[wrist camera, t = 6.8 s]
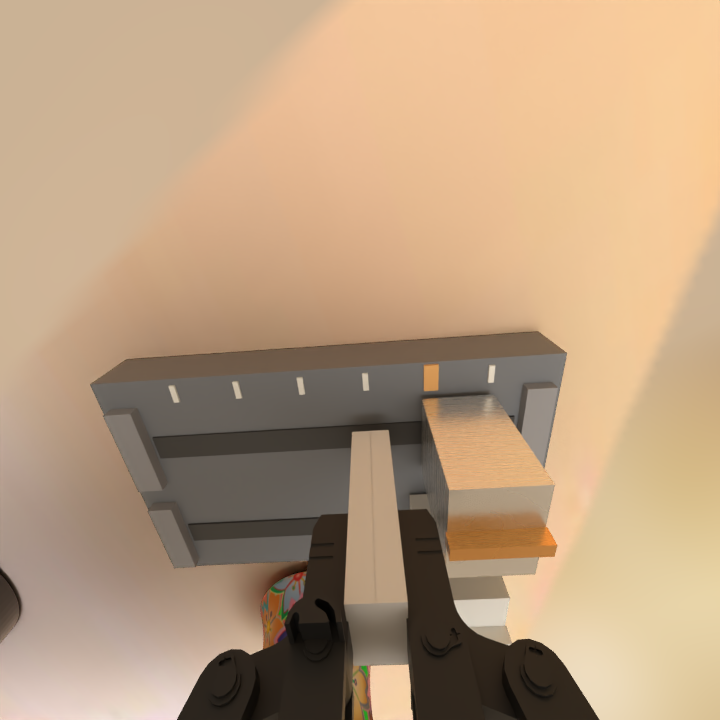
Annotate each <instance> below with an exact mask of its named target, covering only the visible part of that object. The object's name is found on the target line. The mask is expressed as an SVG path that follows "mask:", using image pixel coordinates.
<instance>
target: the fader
mask: <svg viewBox="0 0 720 720" xmlns="http://www.w3.org/2000/svg"><path fill="white" fill-rule="evenodd" d="M422 476H423V480H424V485H425V489H426V494H427V498H428V503H429V507H430V512H431V516H432V517H433V518H434V520H435V521H436V524H437V529H438V533H439V538H440V542H441V546H442V552H443V555H444V560H445V564H446V569H447V573H448V577H449V578H460V577H484V576H507V575H530V574H535V573H536V568H537V564H538V559H539V557H554V556H555V552H556V548H557V544H556V542H555V540H554V539H553V537H552V535H551V533H550V532H549V530H548V528H547V527H546V523H547V518H548V514H549V509H550V505H551V500H552V496H553V491H554V486H555V484H554V483H553V481H552V480H551V478H550V477H549V475H548V474H547V472H546V471H545V469H544V468H543V466H542V465H541V463H540V462H539V460H538V459H537V458H536V456H535V455H534V453H533V452H532V450H531V449H530V447H529V446H528V444H527V443H526V441H525V440H524V438H523V437H522V435H521V434H520V432H519V431H518V429H517V428H516V426H515V425H514V423H513V422H512V421H511V419H510V418H509V416H508V415H507V413H506V412H505V410H504V409H503V407H502V406H501V404H500V403H499V401H498V400H497V398H496V397H495V395H478V396H462V397H445V398H429V399H422Z"/></svg>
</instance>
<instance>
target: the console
mask: <svg viewBox="0 0 720 720" xmlns="http://www.w3.org/2000/svg"><path fill="white" fill-rule="evenodd" d="M566 356H567V353H566V352H565V351H563V350H562V349H561V348H559V347H558V346H557V345H556V344H554V343H553V342H552V341H550V340H549V339H548V338H546V337H545V336H544V335H542V334H541V333H540V332H525V333H511V334H496V335H481V336H467V337H452V338H437V339H422V340H408V341H393V342H378V343H363V344H349V345H334V346H319V347H305V348H290V349H275V350H260V351H246V352H231V353H216V354H202V355H187V356H172V357H157V358H143V359H128V360H125V361H124V362H122V363H121V364H119V365H118V366H116V367H115V368H113V369H112V370H110V371H109V372H107V373H106V374H104V375H103V376H102V377H100V378H99V379H97V380H96V381H94V382H93V383H91V384H90V386H91V388H92V390H93V392H94V394H95V396H96V398H97V401H98V403H99V405H100V407H101V409H102V411H103V413H104V415H103V417H104V419H105V421H106V423H107V426H108V428H109V430H110V432H111V434H112V436H113V438H114V440H115V443H116V445H117V447H118V449H119V451H120V453H121V455H122V458H123V460H124V462H125V464H126V466H127V468H128V470H129V472H130V475H131V477H132V479H133V481H134V483H135V485H136V487H137V490H138V492H140V493H141V495H142V497H143V499H144V501H145V503H146V506H147V508H148V513H149V515H150V517H151V519H152V522H153V524H154V526H155V528H156V530H157V532H158V534H159V536H160V539H161V541H162V543H163V545H164V547H165V549H166V551H167V554H168V556H169V558H170V560H171V562H172V564H173V566H174V568H187V567H196V566H201V565H223V564H245V563H267V562H289V561H308V560H309V552H310V547H311V539H312V532H313V528H314V526H315V524H316V523H317V521H318V519H319V518H320V516H321V515H324V514H346V513H348V508H349V487H350V466H351V445H352V432H360V431H378V430H389V437H390V446H391V456H392V465H393V474H394V483H395V492H396V501H397V510H412V509H427V510H428V511H429V513H430V514H431V512H430V507H429V503H428V498H427V494H426V489H425V485H424V480H423V476H422V399H429V398H445V397H462V396H478V395H495V397H496V398H497V400H498V401H499V403H500V404H501V406H502V407H503V409H504V410H505V412H506V413H507V415H508V416H509V418H510V419H511V421H512V422H513V423H514V425H515V426H516V428H517V429H518V431H519V432H520V434H521V435H522V437H523V438H524V440H525V441H526V443H527V444H528V446H529V447H530V449H531V450H532V452H533V453H534V455H535V456H536V458H537V459H538V460H539V462H540V463H541V465H542V466H543V468H544V467H545V462H546V457H547V452H548V447H549V442H550V437H551V432H552V427H553V422H554V417H555V411H556V406H557V401H558V396H559V391H560V386H561V381H562V376H563V371H564V366H565V361H566ZM449 582H450V586H451V591H452V595H453V600H454V604H455V607H456V609H457V612H458V614H459V615H460V617H461V619H462V620H463V621H464V622H465V623H466V625H467V626H468V627H469V628H471V629H472V630H473V631H475V632H476V633H477V634H479V635H482V636H484V637H486V638H489V639H491V640H494V641H497V642H500V643H503V644H506V645H511V644H512V642H511V639H510V636H509V633H508V630H507V627H506V626H505V622H506V617H507V611H508V606H509V600H510V597H509V594H508V592H507V589H506V586H505V584H504V581H503V578H502V576H484V577H460V578H449Z"/></svg>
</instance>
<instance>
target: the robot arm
mask: <svg viewBox="0 0 720 720" xmlns="http://www.w3.org/2000/svg"><path fill="white" fill-rule="evenodd" d="M18 618H19V604H18V600H17V598H16V595H15V593H14V591H13V590H12V588H11V587H10V585H9V584H8V583H7V581H6V580H5V579H4V578H3V577H2V576H1V575H0V643H1V642H2V641H3V639H4V638H5V637H6V636H7V635H8V633H9V632H10V631H11V630H12V628H13V627H14V626H15V624H16V623H17V620H18ZM284 625H285V629H286V632H287V636H286V637H285V638H284V639H282V640H281V641H280V642H278V643H276V644H274V645H273V646H270V647H268V648H266V649H263V650H261V651H259V652H256V653H254V654H252V655H249V654H248V653H246V652H245V651H243V650H237V649H231V650H228V651H226V652H224V653H221V654H219V655H218V656H217V657H216V658H215V659H213V660H212V661H211V662H210V663H209V664H208V665H207V667H206V668H205V670H204V671H203V672H202V674H201V675H200V677H199V679H198V681H197V683H196V685H195V686H194V688H193V690H192V692H191V694H190V696H189V698H188V700H187V702H186V704H185V705H184V707H183V709H182V711H181V713H180V715H179V717H178V719H177V720H354V692H353V665H354V666H370V665H405V664H409V673H410V683H411V710H412V711H413V720H599V718H598V717H597V715H596V714H595V712H594V711H593V709H592V707H591V706H590V704H589V703H588V701H587V700H586V698H585V696H584V695H583V694H582V692H581V690H580V689H579V687H578V685H577V684H576V682H575V681H574V679H573V678H572V676H571V674H570V673H569V671H568V670H567V668H566V667H565V665H564V664H563V662H562V661H561V660H560V659H559V658H558V656H557V655H556V654H555V653H554V652H553V651H552V650H550V649H549V648H548V647H546V646H545V645H543V644H542V643H540V642H537V641H534V640H531V639H521V640H517V641H515V642H514V643H512V644H511V645H506V644H503V643H500V642H497V641H494V640H491V639H489V638H486V637H484V636H482V635H479V634H477V633H476V632H475V631H473V630H472V629H471V628H469V627H468V626H467V625H466V623H465V622H464V621H463V620H462V619H461V617H460V615H459V614H458V612H457V609H456V607H455V604H454V600H453V595H452V591H451V586H450V582H449V577H448V573H447V569H446V564H445V560H444V555H443V552H442V546H441V542H440V538H439V533H438V529H437V524H436V521H435V520H434V518H433V517H432V516H431V514H430V513H429V511H428V510H427V509H412V510H397V501H396V492H395V483H394V474H393V465H392V456H391V446H390V437H389V430H378V431H360V432H352V445H351V466H350V487H349V508H348V513H346V514H324V515H321V516H320V518H319V519H318V521H317V523H316V524H315V526H314V528H313V532H312V539H311V547H310V552H309V560H308V565H307V572H306V579H305V585H304V592H303V598H301V599H300V600H298V601H297V602H296V603H295V604H294V605H293V607H292V608H291V609H290V610H289V612H288V614H287V617H286V620H285V623H284Z"/></svg>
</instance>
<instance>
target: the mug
mask: <svg viewBox="0 0 720 720" xmlns="http://www.w3.org/2000/svg"><path fill="white" fill-rule="evenodd" d="M306 572H307V571H306ZM306 572H300V573H296V574H293V575H290V576H287V577H285V578H283V579H281V580H279V581H278V582H276V583H275V584H274V585H273V586H272V587H271V588H270V589H269V590H268V591H267V592H266V594H265V595H264V597H263V600H262V603H261V617H262V622H263V633H264V642H263V649H266V648H268V647H270V646H273V645H274V644H276V643H278V642H280V641H281V640H282V639H284V638H285V637H286V636H287V632H286V629H285V625H284V623H285V620H286V617H287V614H288V612H289V610H290V609H291V608H292V607H293V605H294V604H295V603H296V602H297V601H298V600H300V599H301V598H303V592H304V585H305V579H306ZM353 692H354V720H373V717H372V708H371V696H370V666H354V665H353Z"/></svg>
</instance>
